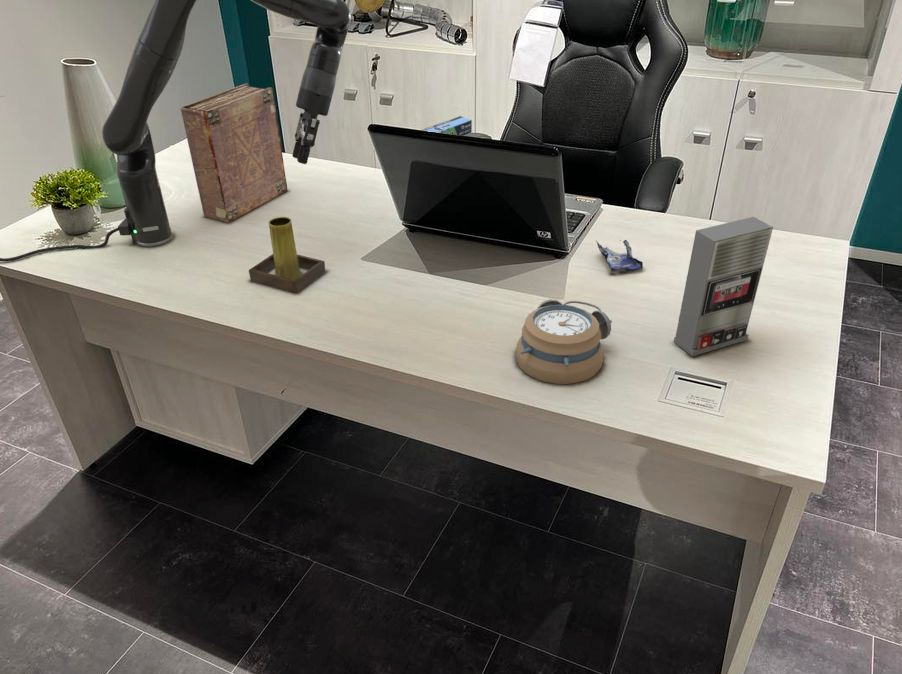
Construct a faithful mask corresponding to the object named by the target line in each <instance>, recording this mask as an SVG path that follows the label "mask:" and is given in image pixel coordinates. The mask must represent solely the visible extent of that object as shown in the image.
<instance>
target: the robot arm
mask: <svg viewBox="0 0 902 674" xmlns="http://www.w3.org/2000/svg"><path fill="white" fill-rule="evenodd" d="M250 1H251V2H253V3H254V4H256V5H258V6H260V7H261V8H264V9H266V10H268V11H269V12H270V11H271V12H273V13H275V14H278V15H281V16H283V17H286V18H290V19H293V20H296V21H303V22H307V23H308V24H311V25H314V26H316V32H315V37H314V41H313V42H312V44H311V47H310V49H309V53H308V57H307V61H306V66H305V69H304V71H303V73H302V77H301V82H300V86H299V88H298V89H299V90H298V93H297V97H296V102H295V107H297V108H298V109H301V110H303V112H300V114H299V118H298V123H297V126H296V130H295V133H294V141H295V142H294V147H293V151H292V155H291V156H292V157H293V159H296V161H297V163H299V164H303V165H307V164H308V161H309V157H310V153H311V149H312V148H313V147H314V146H315V144H316V143H315V142H316V139H317V138H316V137H317V134H318V130H319V127H320V126H319V125H320V123H321V122H320V121H321V120H320V119H318V116H322V117H327V116H328V114H329V111H330V106H331V103H332V99H333V95H334V91H335V88H336V87H335V86H336V80H337V75H338V70H339V66H340V63H341V58H342V51H343V47H344V45H345V42H346V39H347V35H348V32H349V29H350V26H351V20H352V15H351V10H350V8H349V5H348V4H347V3H346V1H344V0H250ZM196 2H197V0H155V1H154V2H153V5H152V7H151V9H150V11H149V13H148V15H147V17H146V19H145V21H144V24H143V26H142V29H141V31H140V32H139V35H138V38H137V40H136V43H135V45H134V47H133V49H132V50H133V51H132V53H131V57H130V60H129V63H128V66H127V69H126V72H125V75H124V79H123V83H122V86H121V90H120V92H119V96H118V98H117V100H116V101H115V103H114V106H113V107H112V110H111V111H110V113H109V115H108V116H107V118H106V120H105V121H104V123H103V125H102V130H101V137H102V140H103V143H104V145H105V147H106V148H107V149H108V151H110V152H111V153H113V154H115V155H116V175H117V179H118V181H119V182H118V183H119V186H120V189H121V192H122V197H123V200H124V203H125V208H124V209H123V212H124V216H125V218H124V219H123V220H122V221H121V222H120V224H118V226H117V227H115V228H114V229H111V230H110V231H109V232H107V233H106V234H105V235H106V236H105V239H104V242H103V243H100V244H98V245H88V244H87V245H86V244H70V245H60V246H58V245H57V246H52V247H51V246H50V247H45V248H40V249H39V248H38V249H35V250H32V251H29V252H26V253H23V254H20V255H16V256H13V257H7V258H6V257H5V258H4V257H0V262H5V263H6V262H14V261H17V260H21V259H24V258H28V257H30V256H33V255H36V254H39V253H40V254H41V253H44V252H50V251H57V250H58V251H59V250H68V249H87V250H88V249H101V248H104V247H105V246H107V245H108V243H109V241H110V237H111V236H112V235H113V234H114V233H116V232H119V235H120V236H130V237H131V241H132V244H133V245H138V246H139V247H155V246H157V247H158V246H161V245H164V244H166V243H168V242H170V241H171V240H172V239H173V236H174V235H173V232H172V228H171V225H170V220H169V217H168V212H167V208H166V205H165V199H164V196H163V193H162V188H161V184H160V180H159V176H158V172H157V168H156V167H157V165H156V160H157V159H156V153H155V148H154V144H153V139H152V135H151V134H152V133H151V130H150V127H149V124H148V120H149V116H150V114H151V111H152V109H153V107H154V105H155V103H156V102H157V100H158V99H159V98H160V96H161V94H162V93H163V91H164V90H165V88H166V86H167V85H168V83H169V81H170V79H171V77H172V75H173V73H174V71H175V69H176V66H177V63H178V62H179V59H180V56H181V54H182V51H183V47H184V43H185V38H186V29H187V24H188V21H189V17H190V14H191V12H192V11H193V8H194V6H195V4H196Z"/></svg>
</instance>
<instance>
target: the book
mask: <svg viewBox="0 0 902 674" xmlns="http://www.w3.org/2000/svg"><path fill="white" fill-rule="evenodd" d="M180 113H181V117H182V122H183V126H184V130H185V135H186V139H187V144H188V145H187V146H188V149H189V154H190V158H191V164H192V167H193V172H194V177H195V181H196V182H195V183H196V186H197V190H198V194H199V200H200V204H201V209H202V213H203V216H204V217H205V218H209V219H212V220H216V221H219V222H223V223H226V224H227V223H228V224H230V223H231V222H233V221H236V220H237V219H239V218H241V217H243V216H245V215H247V214H248V213H250V212H252V211H254V210H256V209H258V208H260V207H262V206H264V205H265V204H267V203H269V202H271V201H272V200H274V199H276V198H279V197H280V196H282V195H284V194H286V193H287V192H288V183H287V175H286V169H285V162H284V155H283V151H282V142H281V136H280V130H279V123H278V117H277V110H276V102H275V96H274V89H273V87H266V88H261V87H254V86H250V85H249V83H248V82H245V83H243V84H241V85H238V86H234V87H232V88H230V89H227V90H224V91H222V92H219V93H217V94H214V95H211V96H208V97H206V98H203V99H200V100H198V101H195V102H192V103H189V104H187V105H184V106H182V107H180Z"/></svg>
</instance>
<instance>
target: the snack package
mask: <svg viewBox="0 0 902 674" xmlns="http://www.w3.org/2000/svg"><path fill="white" fill-rule="evenodd" d="M619 240H620V242H621V241H622V239H619ZM595 242H596V245H597V247H598V251H599V252H600V254H601V255H602V257H603V259H604V260H605V262H606V264H607V265H608V267H609V269H610V271H611V272H613V271H618V270H624V271H625V273H629V272H636V271H638V270H642V269H644V263H643V261H641V260H639V259H637V258H635V257H634V256H633V254H632V250H633V249H632V247H631V246H630V242H629V241H628V240H627V239H624V240H623V242H622V243H623V244H624V245H623V246H625V250H626V253H619V252H615V251H612V250H611V249H610V248H608V247H604V246H602V244H600V243H599V241H598V240H595ZM610 274H611V275H612V274H613V273H610Z"/></svg>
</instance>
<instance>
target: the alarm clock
mask: <svg viewBox="0 0 902 674" xmlns="http://www.w3.org/2000/svg"><path fill="white" fill-rule="evenodd" d="M570 304H581V305H586V306H589V307H593V308H594V309H597V310H594V311H593V312H591V313H590V312H589V311H587V310H585V309H583V308H580V307H577V306H574V305H570ZM612 323H613V320H612V319H610V318H609V316H608V315H607V314H606V313H605V312H604V311H602V309H601V308H600V307H599V306H598V305H596V304H593V303H589V302H585V301H580V300H568V301H566V302H564V303H562V302H561V301H559V300H558V299H546V300H544V301H543V302H541V303H540V304H539V305H538V307H537V308H536V309H534V310H532V311H531V312H529V314H528V315H527V316H526V317H525V321H524V324H523V325H522V327H521V335H520V337H519V339H518V340H517V343H516V354H515V355H516V358H515V360H516V363H517V365H518V366H519V368H520V369H521V370H522V371H523V372H524V373H525V374H527V375H528V376H530V377H531V378H534V379H536V380H539V381H541V382H546V383H548V384H549V383H550V384H559V385H568V384H569V385H570V384H577V383H581V382H584V381H587V380H589V379H591V378H592V377H595V376H596V374H598V372H599V371H600V370H601V368H602V366H603V363H604V361H603V360H604V355H605V354H604V347H603V344H602V343H601V340H605V339H607V338H608V337H609V336H610V335H611V332H612Z"/></svg>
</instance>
